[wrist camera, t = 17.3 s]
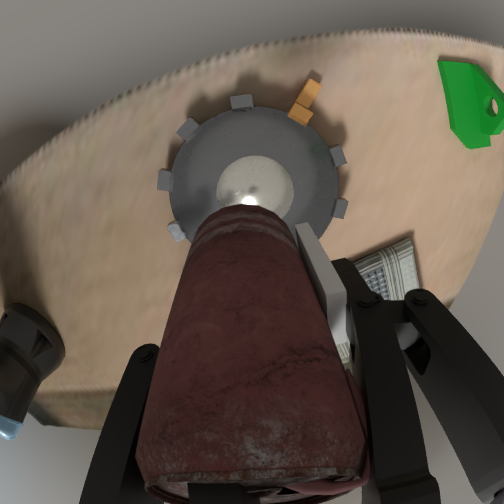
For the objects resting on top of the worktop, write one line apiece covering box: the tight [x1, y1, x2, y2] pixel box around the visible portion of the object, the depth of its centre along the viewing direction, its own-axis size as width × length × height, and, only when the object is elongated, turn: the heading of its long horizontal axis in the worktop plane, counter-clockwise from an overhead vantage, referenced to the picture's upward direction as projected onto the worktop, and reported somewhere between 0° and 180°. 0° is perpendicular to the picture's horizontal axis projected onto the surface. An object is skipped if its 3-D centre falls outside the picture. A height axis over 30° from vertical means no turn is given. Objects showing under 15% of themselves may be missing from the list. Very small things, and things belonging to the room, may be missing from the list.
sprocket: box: [157, 94, 348, 247], centre depth 26 cm, size 19×20×5 cm
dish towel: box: [336, 238, 419, 363], centre depth 37 cm, size 19×18×3 cm
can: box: [135, 204, 370, 504], centre depth 11 cm, size 6×6×14 cm
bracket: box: [437, 61, 504, 149], centre depth 22 cm, size 12×8×7 cm, turn 16°
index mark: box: [295, 79, 322, 109], centre depth 25 cm, size 3×1×1 cm, turn 152°
